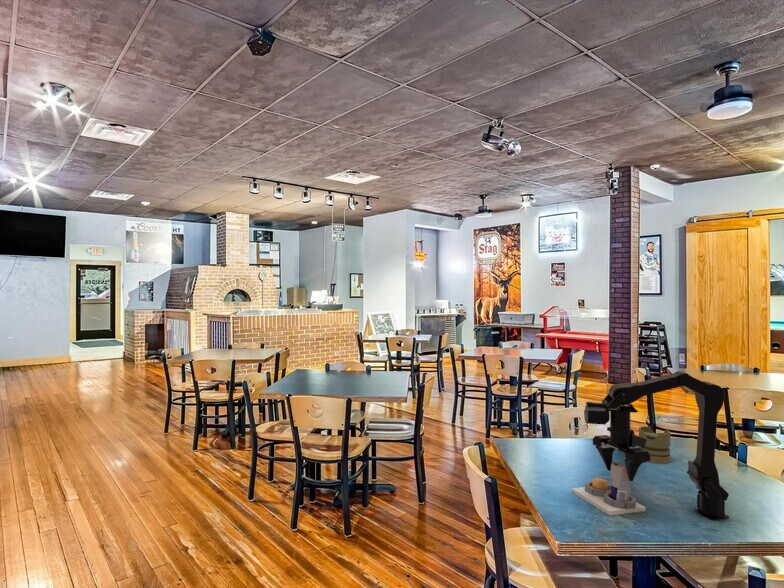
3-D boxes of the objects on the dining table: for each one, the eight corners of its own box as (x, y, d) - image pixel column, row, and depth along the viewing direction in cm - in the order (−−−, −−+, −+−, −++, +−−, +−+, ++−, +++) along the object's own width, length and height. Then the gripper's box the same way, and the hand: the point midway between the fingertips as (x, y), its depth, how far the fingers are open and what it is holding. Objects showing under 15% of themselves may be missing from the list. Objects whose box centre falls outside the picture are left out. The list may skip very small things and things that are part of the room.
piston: (665, 435, 186) (634, 429, 194) (665, 466, 186) (634, 459, 193) (673, 430, 194) (643, 425, 202) (673, 459, 194) (643, 453, 202)
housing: (645, 511, 145) (645, 495, 145) (609, 515, 141) (609, 499, 142) (604, 488, 162) (604, 474, 162) (571, 492, 159) (571, 477, 159)
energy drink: (613, 497, 152) (613, 460, 152) (631, 502, 148) (631, 463, 148) (608, 503, 147) (608, 464, 148) (627, 508, 144) (627, 468, 144)
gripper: (665, 431, 141) (665, 484, 141) (619, 416, 159) (619, 463, 159) (634, 434, 138) (634, 487, 138) (591, 418, 156) (591, 466, 156)
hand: (619, 475), depth 148 cm, fingers open, 9 cm apart
